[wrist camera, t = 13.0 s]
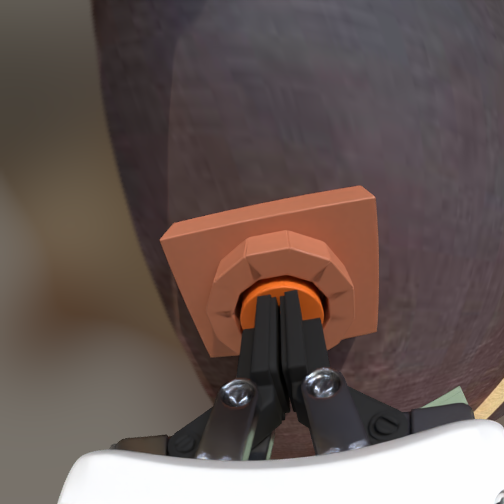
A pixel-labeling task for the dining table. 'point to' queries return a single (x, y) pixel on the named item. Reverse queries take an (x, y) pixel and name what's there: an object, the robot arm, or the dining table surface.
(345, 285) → the control block
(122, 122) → the dining table surface
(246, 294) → the button
